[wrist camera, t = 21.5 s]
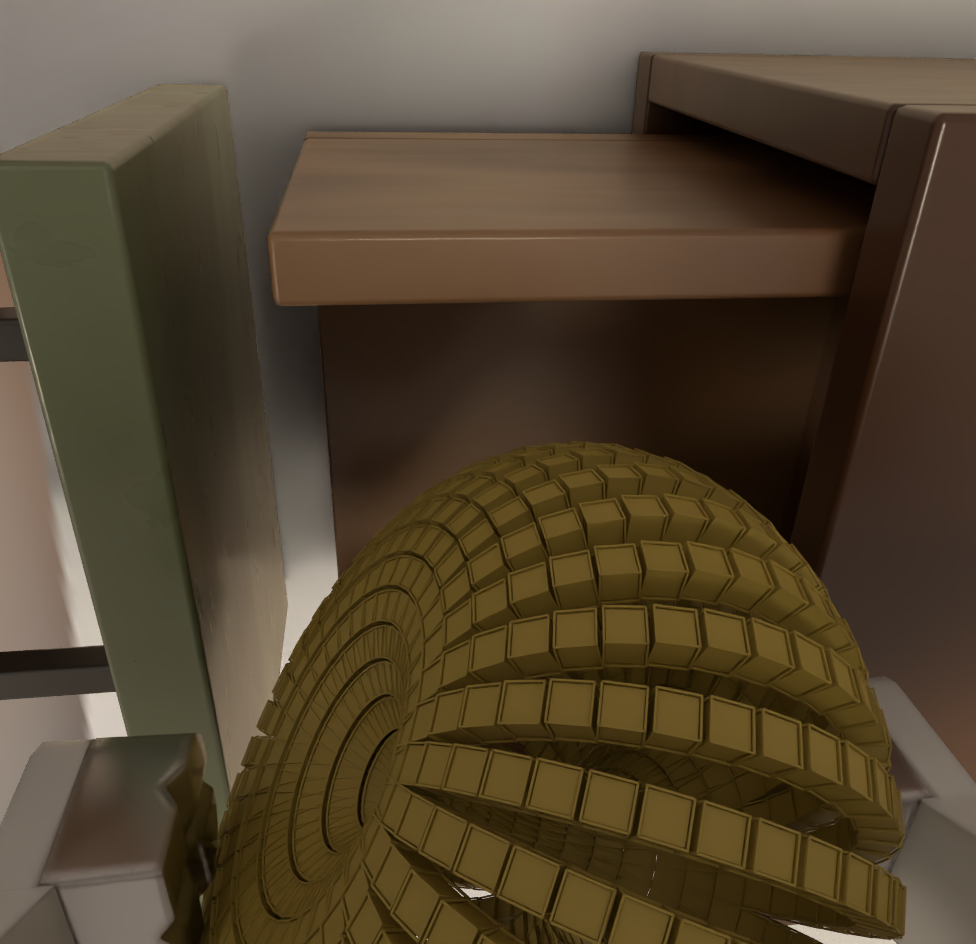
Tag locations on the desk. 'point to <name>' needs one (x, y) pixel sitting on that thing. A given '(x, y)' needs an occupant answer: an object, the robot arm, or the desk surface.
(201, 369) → the drawer
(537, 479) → the sculpture
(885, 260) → the cabinet
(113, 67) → the desk surface
